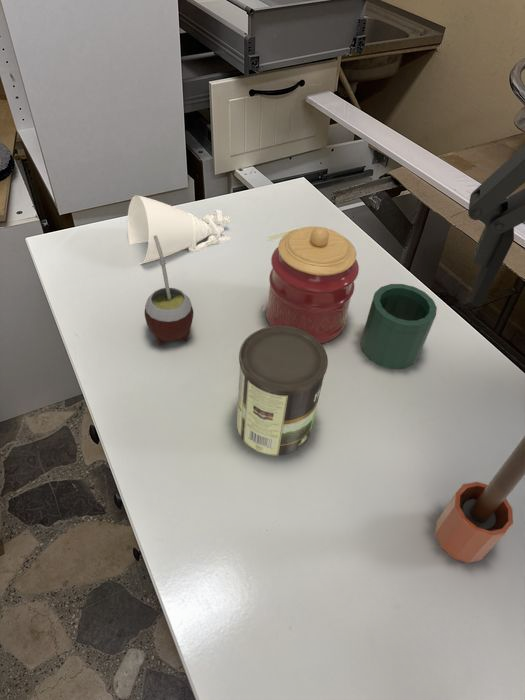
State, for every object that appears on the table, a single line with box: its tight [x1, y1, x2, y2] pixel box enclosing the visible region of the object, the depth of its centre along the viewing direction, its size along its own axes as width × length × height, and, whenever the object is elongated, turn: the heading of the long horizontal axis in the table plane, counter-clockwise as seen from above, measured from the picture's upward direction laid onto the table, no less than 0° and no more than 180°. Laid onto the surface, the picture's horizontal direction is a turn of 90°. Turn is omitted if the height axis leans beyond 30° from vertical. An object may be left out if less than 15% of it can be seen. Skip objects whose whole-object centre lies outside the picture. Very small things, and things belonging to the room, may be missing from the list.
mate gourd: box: [144, 236, 194, 346], centre depth 76 cm, size 8×8×15 cm
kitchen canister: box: [265, 225, 360, 344], centre depth 79 cm, size 13×13×18 cm
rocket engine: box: [126, 195, 232, 265], centre depth 95 cm, size 12×12×18 cm
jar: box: [359, 283, 438, 370], centre depth 79 cm, size 9×9×10 cm
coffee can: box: [236, 326, 329, 456], centre depth 66 cm, size 10×10×14 cm
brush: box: [461, 435, 525, 531], centre depth 54 cm, size 4×4×20 cm
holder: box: [434, 481, 514, 564], centre depth 58 cm, size 6×6×8 cm
